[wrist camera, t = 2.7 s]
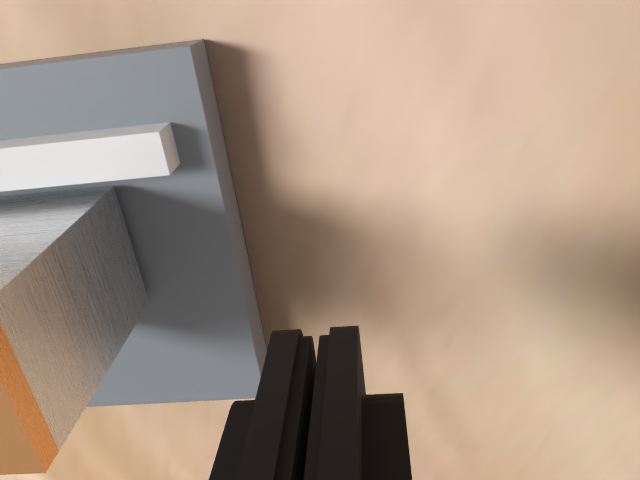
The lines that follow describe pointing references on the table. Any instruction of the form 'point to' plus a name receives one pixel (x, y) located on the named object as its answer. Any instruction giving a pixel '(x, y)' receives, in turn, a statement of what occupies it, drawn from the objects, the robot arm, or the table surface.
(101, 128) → the divider plate
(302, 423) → the robot arm
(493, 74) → the table surface
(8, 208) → the block
